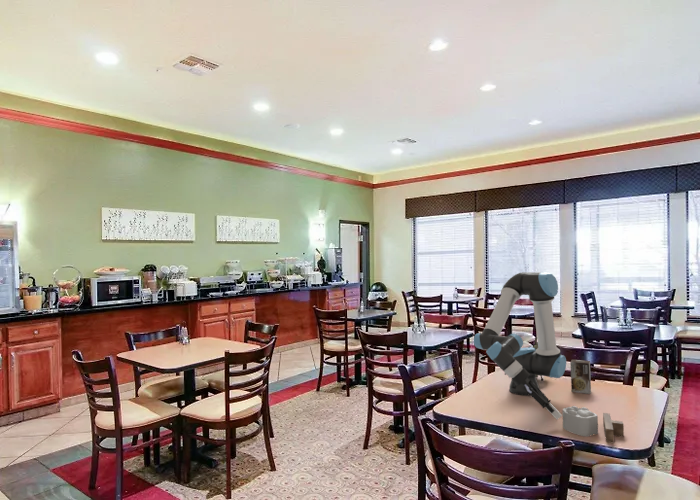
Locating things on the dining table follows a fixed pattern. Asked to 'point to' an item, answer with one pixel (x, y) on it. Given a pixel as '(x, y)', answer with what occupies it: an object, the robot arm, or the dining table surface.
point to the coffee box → (580, 376)
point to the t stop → (612, 427)
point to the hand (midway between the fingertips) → (559, 417)
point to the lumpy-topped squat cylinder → (580, 421)
